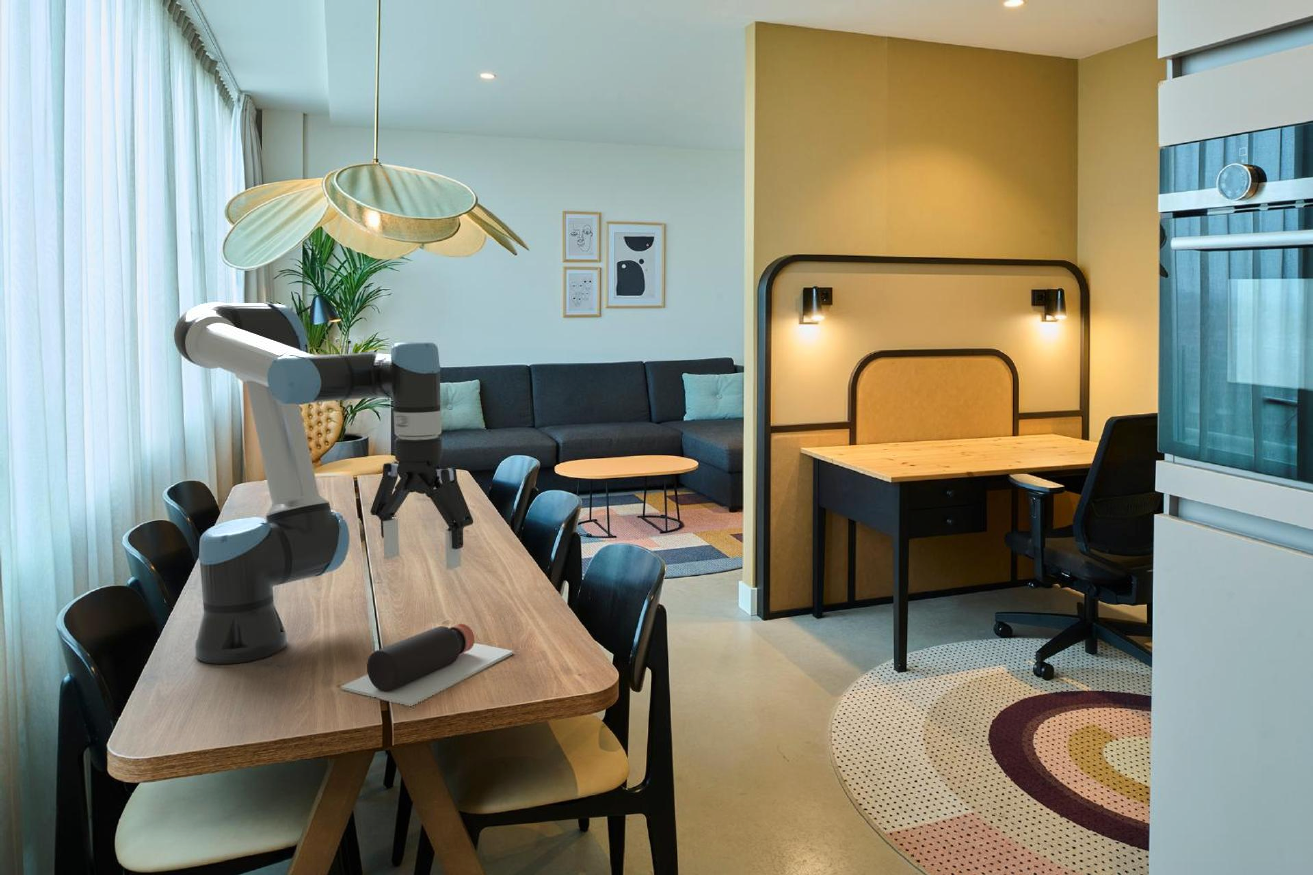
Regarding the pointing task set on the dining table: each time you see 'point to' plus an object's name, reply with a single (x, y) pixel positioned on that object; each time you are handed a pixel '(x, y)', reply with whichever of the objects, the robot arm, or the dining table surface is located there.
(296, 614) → the dining table surface
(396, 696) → the mat
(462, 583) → the dining table surface
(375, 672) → the vinegar
